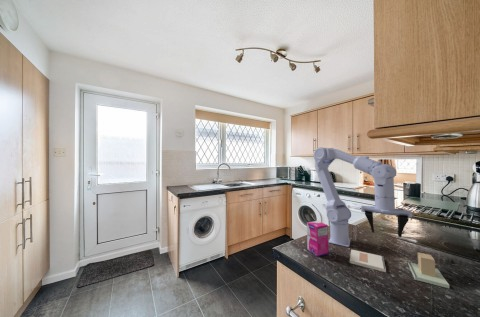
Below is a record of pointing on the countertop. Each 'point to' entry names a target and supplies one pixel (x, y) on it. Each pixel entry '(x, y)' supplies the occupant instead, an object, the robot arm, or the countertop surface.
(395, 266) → the countertop surface
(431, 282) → the block on white base
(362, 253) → the board
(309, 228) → the supplement box
